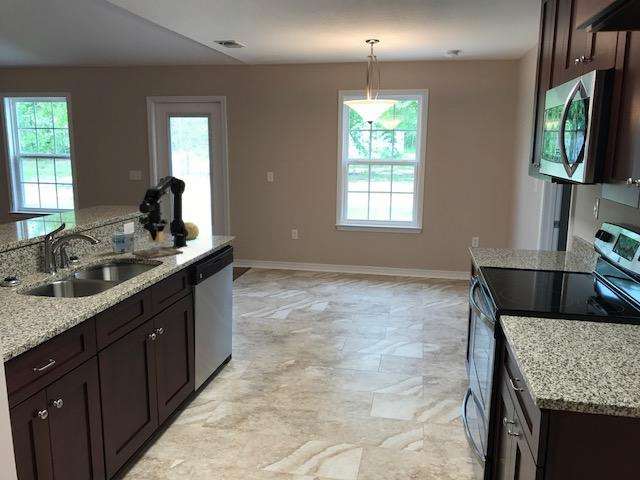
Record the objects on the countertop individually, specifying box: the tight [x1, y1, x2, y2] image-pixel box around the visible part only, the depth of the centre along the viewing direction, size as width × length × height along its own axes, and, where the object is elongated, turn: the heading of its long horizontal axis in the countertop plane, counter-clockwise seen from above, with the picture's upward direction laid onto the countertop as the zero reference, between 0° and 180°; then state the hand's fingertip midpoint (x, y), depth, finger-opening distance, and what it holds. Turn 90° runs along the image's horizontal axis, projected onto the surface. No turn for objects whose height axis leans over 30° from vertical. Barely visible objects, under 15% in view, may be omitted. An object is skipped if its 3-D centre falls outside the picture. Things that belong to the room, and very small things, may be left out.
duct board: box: [131, 246, 184, 260], centre depth 287 cm, size 20×20×1 cm
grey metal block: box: [152, 245, 162, 254], centre depth 283 cm, size 3×3×4 cm
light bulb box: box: [111, 231, 136, 254], centre depth 290 cm, size 11×7×11 cm, turn 129°
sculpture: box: [184, 221, 200, 240], centre depth 331 cm, size 12×12×11 cm
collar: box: [147, 231, 165, 243], centre depth 281 cm, size 6×6×5 cm
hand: (156, 239), depth 282 cm, fingers closed on collar, 6 cm apart
